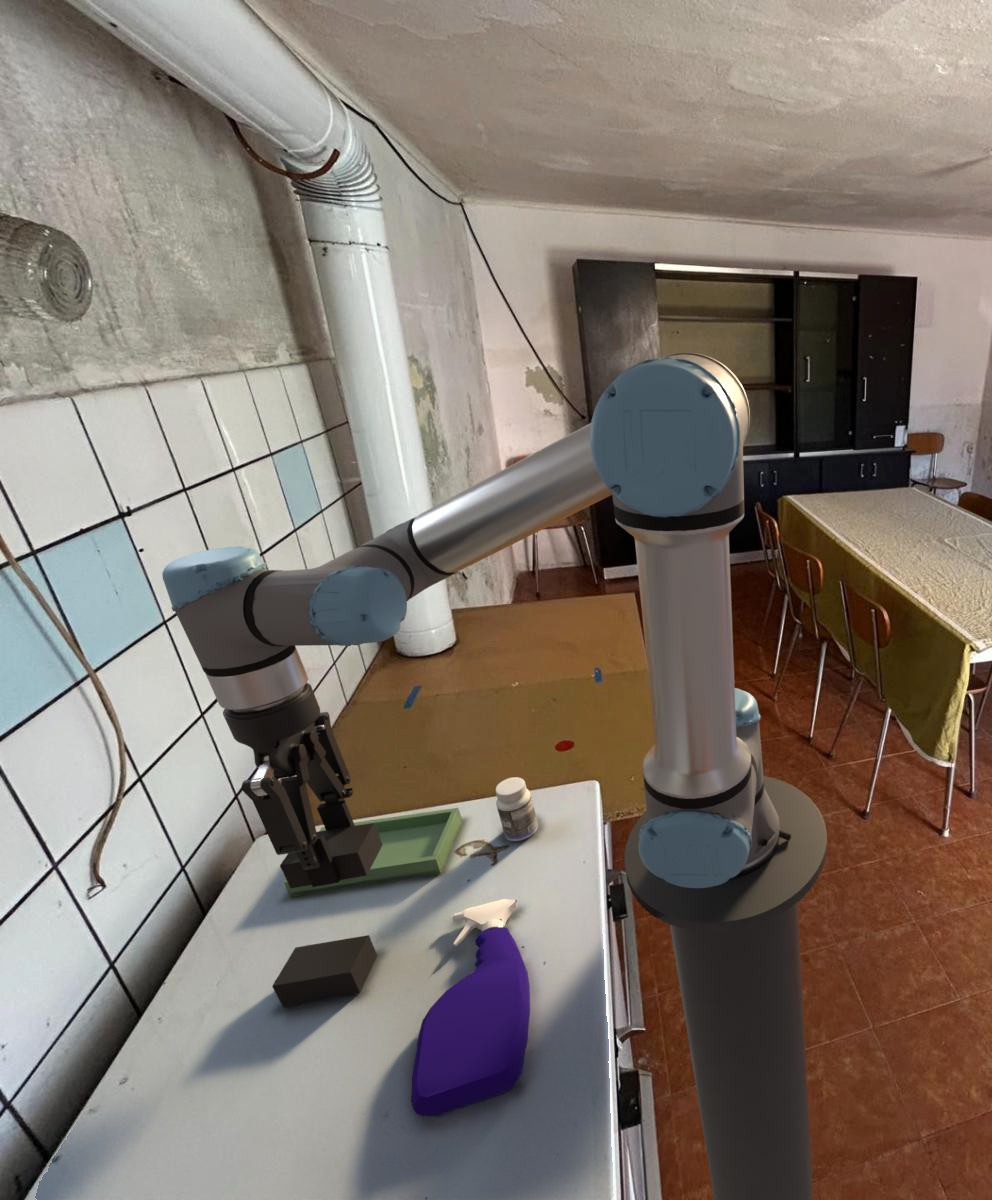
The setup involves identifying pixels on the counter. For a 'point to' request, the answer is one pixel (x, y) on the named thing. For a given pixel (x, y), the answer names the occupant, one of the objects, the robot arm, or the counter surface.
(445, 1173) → the counter surface
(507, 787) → the pill bottle
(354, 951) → the dark brown rectangular block
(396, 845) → the tray
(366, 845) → the pad
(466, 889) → the counter surface
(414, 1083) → the spray bottle
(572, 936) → the counter surface
